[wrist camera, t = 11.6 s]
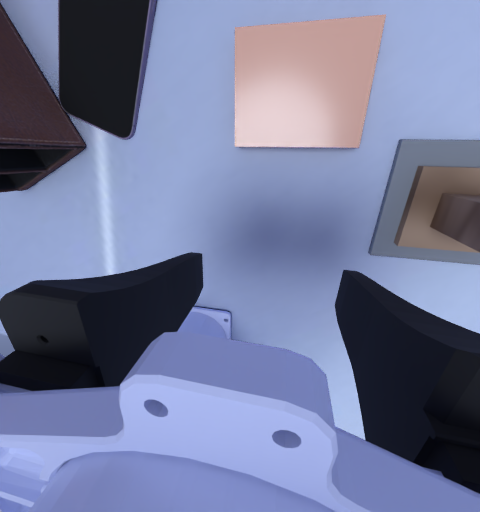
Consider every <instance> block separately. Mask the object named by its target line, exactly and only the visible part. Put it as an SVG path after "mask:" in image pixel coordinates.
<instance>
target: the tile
mask: <svg viewBox="0 0 480 512" xmlns="http://www.w3.org/2000/svg"><path fill="white" fill-rule="evenodd" d="M385 18H386V15H375V16H363V17H351V18H340V19H328V20H316V21H305V22H293V23H281V24H270V25H258V26H247V27H235V147H269V148H359V145H360V141H361V136H362V131H363V126H364V121H365V116H366V111H367V106H368V101H369V96H370V91H371V86H372V82H373V77H374V72H375V67H376V62H377V57H378V52H379V47H380V42H381V37H382V32H383V27H384V23H385Z"/></svg>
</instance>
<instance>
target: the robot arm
mask: <svg viewBox="0 0 480 512" xmlns="http://www.w3.org/2000/svg"><path fill="white" fill-rule="evenodd" d="M202 288H203V265H202V254H201V253H192V252H191V253H186V254H183V255H180V256H177V257H174V258H172V259H169V260H166V261H163V262H160V263H157V264H154V265H151V266H148V267H145V268H142V269H138V270H134V271H130V272H125V273H120V274H114V275H108V276H102V277H94V278H84V279H71V280H37V281H32V282H30V283H28V284H26V285H24V286H22V287H20V288H18V289H16V290H14V291H11V292H9V293H7V294H5V295H4V296H3V297H2V298H1V300H0V319H1V322H2V324H3V326H4V329H5V331H6V333H7V335H8V337H9V339H10V341H11V343H12V345H13V347H14V349H15V351H14V352H12V353H11V354H10V355H8V356H7V357H4V356H3V355H1V354H0V512H480V334H479V333H476V332H473V331H471V330H468V329H466V328H463V327H461V326H458V325H456V324H453V323H451V322H448V321H446V320H444V319H441V318H439V317H437V316H435V315H433V314H431V313H429V312H427V311H424V310H422V309H420V308H418V307H416V306H414V305H413V304H411V303H409V302H407V301H405V300H404V299H402V298H400V297H398V296H397V295H395V294H393V293H392V292H390V291H389V290H387V289H385V288H384V287H382V286H381V285H379V284H378V283H376V282H375V281H373V280H371V279H370V278H368V277H367V276H365V275H363V274H362V273H360V272H357V271H349V270H343V274H342V278H341V282H340V286H339V290H338V294H337V298H336V302H335V309H336V316H337V321H338V325H339V328H340V331H341V334H342V338H343V341H344V344H345V347H346V350H347V353H348V356H349V359H350V362H351V365H352V369H353V373H354V378H355V383H356V387H357V392H358V398H359V403H360V409H361V414H362V420H363V427H364V433H365V439H366V441H365V440H363V439H361V438H359V437H357V436H355V435H352V434H350V433H348V432H346V431H344V430H342V429H340V428H337V427H335V424H334V418H333V412H332V406H331V401H330V395H329V389H328V383H327V377H326V374H325V373H324V372H323V371H322V370H321V369H320V368H319V367H318V366H317V365H316V364H315V363H314V361H313V360H312V359H311V358H308V357H305V356H303V355H300V354H298V353H295V352H292V351H290V350H287V349H282V348H277V347H271V346H265V345H259V344H254V343H248V342H242V341H236V340H231V314H230V313H229V312H227V311H220V310H214V309H207V308H200V307H193V306H194V305H195V303H196V302H197V300H198V297H199V295H200V293H201V291H202ZM226 319H228V320H226Z"/></svg>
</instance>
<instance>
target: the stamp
mask: <svg viewBox="0 0 480 512" xmlns="http://www.w3.org/2000/svg"><path fill="white" fill-rule="evenodd" d="M394 243H395V244H396V245H397V246H404V247H416V248H427V249H439V250H451V251H463V252H475V253H480V168H473V167H439V166H418V167H417V171H416V174H415V177H414V180H413V183H412V186H411V190H410V193H409V196H408V199H407V202H406V205H405V208H404V212H403V215H402V218H401V221H400V224H399V227H398V231H397V234H396V237H395V240H394Z"/></svg>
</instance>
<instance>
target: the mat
mask: <svg viewBox="0 0 480 512" xmlns="http://www.w3.org/2000/svg"><path fill="white" fill-rule="evenodd" d="M418 166H439V167H473V168H480V140H399V144H398V147H397V151H396V154H395V158H394V162H393V165H392V169H391V173H390V176H389V180H388V184H387V187H386V191H385V195H384V198H383V202H382V206H381V209H380V213H379V216H378V220H377V224H376V227H375V231H374V235H373V238H372V242H371V246H370V249H369V254H370V255H377V256H388V257H398V258H409V259H420V260H431V261H442V262H453V263H464V264H475V265H480V253H475V252H463V251H451V250H439V249H427V248H416V247H404V246H397V245H396V244H395V243H394V240H395V237H396V234H397V231H398V227H399V224H400V221H401V218H402V215H403V212H404V208H405V205H406V202H407V199H408V196H409V193H410V190H411V186H412V183H413V180H414V177H415V174H416V171H417V167H418Z"/></svg>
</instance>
